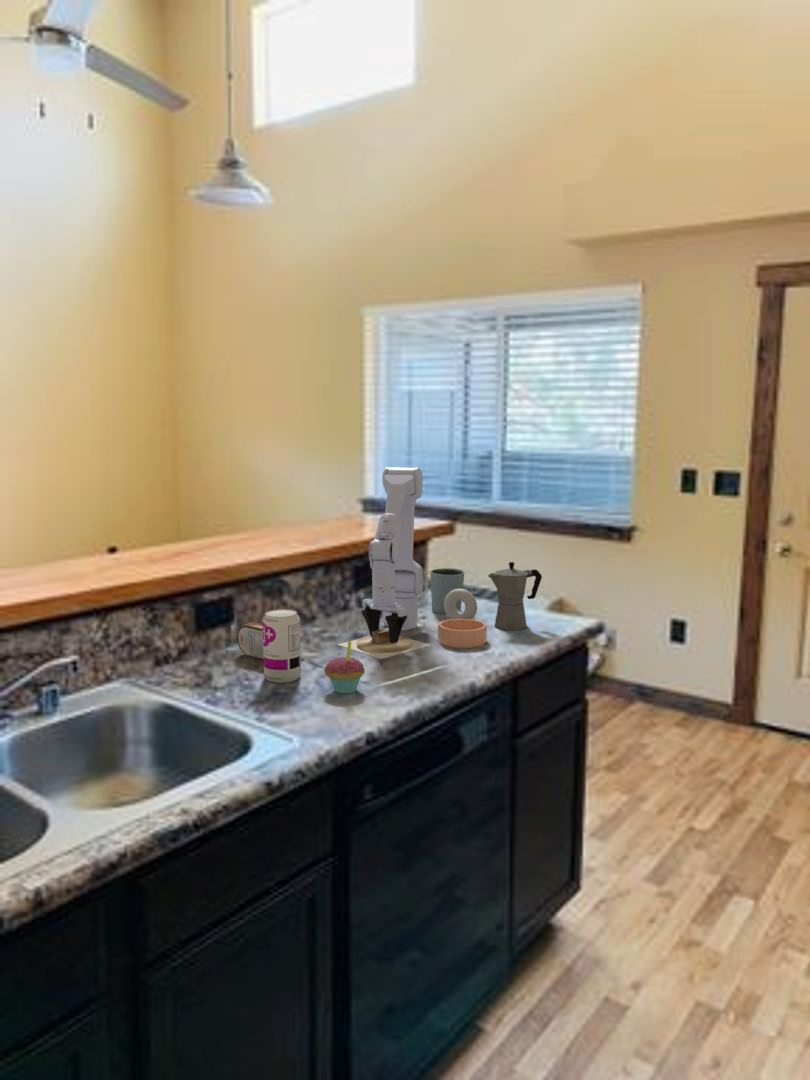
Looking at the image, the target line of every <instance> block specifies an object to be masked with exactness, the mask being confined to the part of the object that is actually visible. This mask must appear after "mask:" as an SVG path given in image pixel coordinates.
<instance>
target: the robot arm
mask: <svg viewBox="0 0 810 1080" xmlns="http://www.w3.org/2000/svg"><path fill="white" fill-rule="evenodd" d="M423 477H424V476H423V471H422V469H421V468H420V467H390V466H386V467H385V468H384V469H383V471H382V487H383V488H384V491H385V494H387V496H386V502H385V509H384V511H385V512H384V514H382V515H380V517H379V519H378V522H377V528H376V532H375V535H374V539H373V540H371V541H370V542H369V545H368V559H369V567H370V569H371V576H372V577H371V580H372V581H371V582H372V585H371V587H372V588H371V589H372V592H371V593H372V598H365V599H362V601H361V602H362V608H364V609H361V612H360V613H361V615H362V616H363V618H364V620H365V622H366V626H367V628H368V632H369V636H371V637H372V631H376V630H380V621H381V615H382V623H381V625H382V626H386V627H387V628H389V638H390V643H396V642H398V640H399V636H401V635H400V634H401V633H402V632H401V631H408V630H412V629H416V628H419V627H420V628H421V627H424V626H425V625H424V624H421V623H419V622H418V596H419V595H421V594H422V592H423V589H424V574H423V570H424V569H423V567H422V566H421V565H420V564H419V563H418V562H416V561H415V560H414V535H415V534H414V532H415V508H416V501H417V500H419V499H420V498H422V494H423V479H424V478H423Z"/></svg>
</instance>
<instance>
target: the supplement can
mask: <svg viewBox="0 0 810 1080" xmlns="http://www.w3.org/2000/svg"><path fill="white" fill-rule="evenodd" d="M300 621H301V620H300V617H299V614H298V611H296V610H293V609H272V610H269V611H267V612H265V613H264V617H262V624H263V650H264V660H263V673H264V675H263V677H264V678H265V679H266V681H269V682H271V683H276V684H286V683H292V682H294V681H297V680H298V679H299V678H300V676H301V675H302V668H301V663H302V661H301V659H302V658H301V625H300V624H301V623H300Z"/></svg>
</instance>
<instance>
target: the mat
mask: <svg viewBox="0 0 810 1080" xmlns="http://www.w3.org/2000/svg"><path fill="white" fill-rule="evenodd" d="M358 639H359V638H357V639H354V640H351V651H356V652H358V653H361V654H365V655H367V656H371V657H374V658H377V659H380V660H382V659H385V658H387V659H388V658H390V657H394V656H397V655H400V654H406V653H408V652H412V651H416V650H420V649H425V648H427V647H432V644H429V643H425V642H423V641H419V640H414V639H412V638H410V639H411V641H412V646H411V647H410V648H408V649H406V650H403V651H398V652H388V653H378V652H369V651H364V650H361V649H359V648H358V647H357V640H358ZM337 646H340V647H343V648H346V649H348V641H346V642H342V643H337Z"/></svg>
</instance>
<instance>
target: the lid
mask: <svg viewBox="0 0 810 1080" xmlns="http://www.w3.org/2000/svg"><path fill="white" fill-rule="evenodd" d="M357 639H358V640H357ZM357 639H356V640H357V647H358V648H359V649H361V650H364V651H369V652H378V653H388V652H398V651H403V650H406V649H408V648H410V647H411V646H412V641H411V639H412V638H409V637H406V636H404V635H400V636H399V640H398V642H396V643H390V638H389V628H388V627H385V628H381V629H379V630H376V631H372V637H371V636H370V635H366V636H363V637H360V638H357Z"/></svg>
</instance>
